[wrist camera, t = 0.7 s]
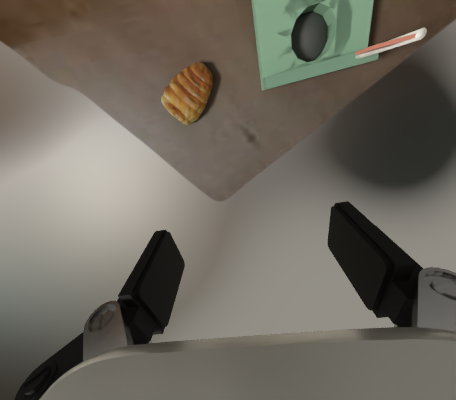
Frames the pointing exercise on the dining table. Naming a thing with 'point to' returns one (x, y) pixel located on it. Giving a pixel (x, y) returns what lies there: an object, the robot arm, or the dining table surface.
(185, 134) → the dining table surface
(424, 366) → the robot arm
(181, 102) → the pastry
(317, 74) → the mat
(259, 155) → the dining table surface
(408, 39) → the flag
